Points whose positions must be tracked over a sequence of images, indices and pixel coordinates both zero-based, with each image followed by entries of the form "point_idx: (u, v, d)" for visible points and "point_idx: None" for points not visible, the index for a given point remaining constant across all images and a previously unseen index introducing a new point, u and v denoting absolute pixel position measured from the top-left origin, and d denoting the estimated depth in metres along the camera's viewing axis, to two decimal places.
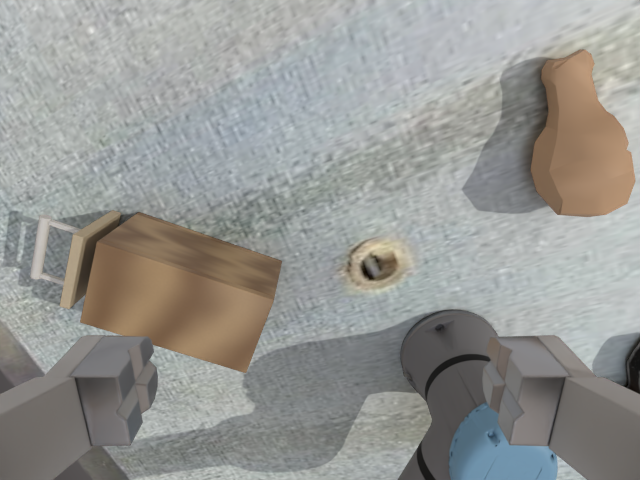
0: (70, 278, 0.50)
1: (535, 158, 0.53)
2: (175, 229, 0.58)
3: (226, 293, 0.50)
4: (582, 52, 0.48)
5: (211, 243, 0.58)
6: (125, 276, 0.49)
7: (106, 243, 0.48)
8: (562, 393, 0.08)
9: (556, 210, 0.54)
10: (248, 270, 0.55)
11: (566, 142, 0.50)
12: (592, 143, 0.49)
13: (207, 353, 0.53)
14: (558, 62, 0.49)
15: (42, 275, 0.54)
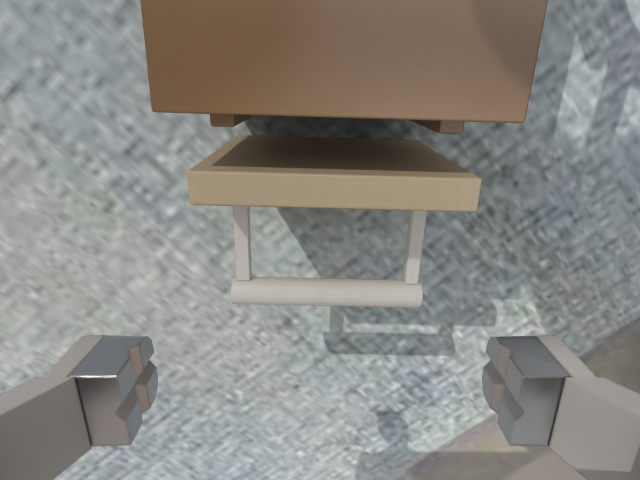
0: (356, 190, 0.14)
1: None
2: None
3: None
4: None
5: None
6: None
7: None
8: (562, 393, 0.08)
9: None
10: None
11: None
12: None
13: None
14: None
15: (408, 278, 0.19)
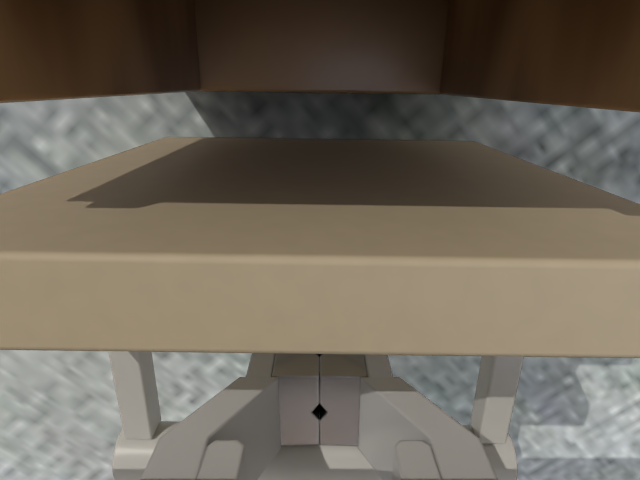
0: (383, 303, 0.04)
1: None
2: None
3: None
4: None
5: None
6: None
7: None
8: (359, 393, 0.08)
9: None
10: None
11: None
12: None
13: None
14: None
15: (485, 433, 0.09)
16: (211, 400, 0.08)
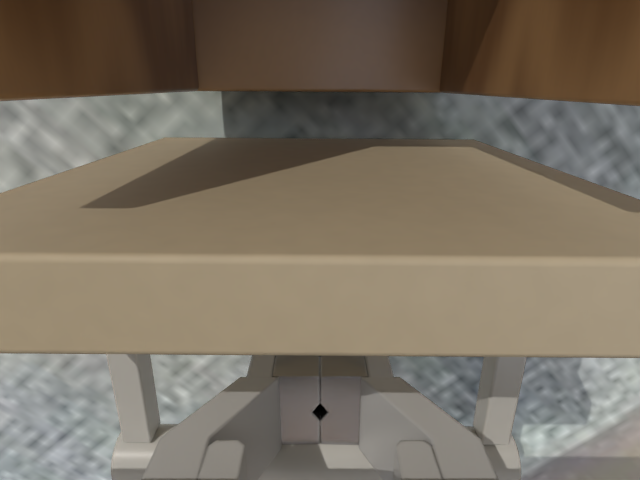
0: (383, 304, 0.04)
1: None
2: None
3: None
4: None
5: None
6: None
7: None
8: (360, 393, 0.08)
9: None
10: None
11: None
12: None
13: None
14: None
15: (488, 435, 0.09)
16: (212, 400, 0.08)
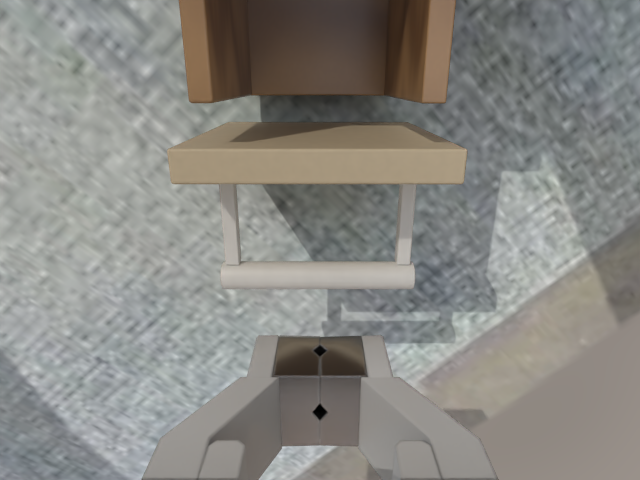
0: (338, 164, 0.14)
1: None
2: None
3: None
4: None
5: None
6: None
7: None
8: (359, 393, 0.08)
9: None
10: None
11: None
12: None
13: None
14: None
15: (399, 259, 0.19)
16: (212, 400, 0.08)
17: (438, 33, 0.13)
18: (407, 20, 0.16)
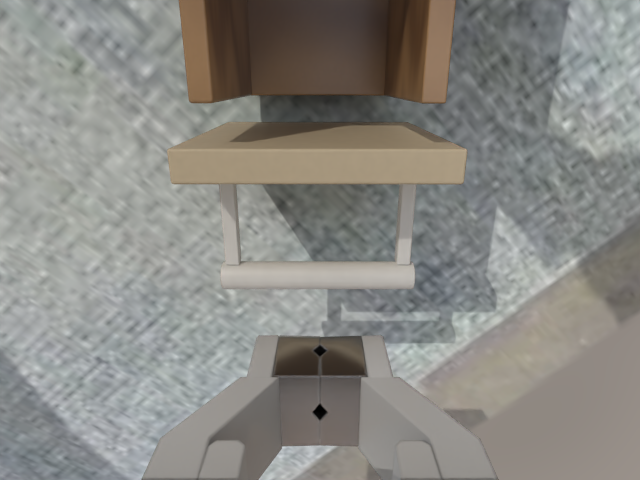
0: (338, 164, 0.14)
1: None
2: None
3: None
4: None
5: None
6: None
7: None
8: (359, 393, 0.08)
9: None
10: None
11: None
12: None
13: None
14: None
15: (399, 259, 0.19)
16: (212, 400, 0.08)
17: (438, 33, 0.13)
18: (407, 20, 0.16)
